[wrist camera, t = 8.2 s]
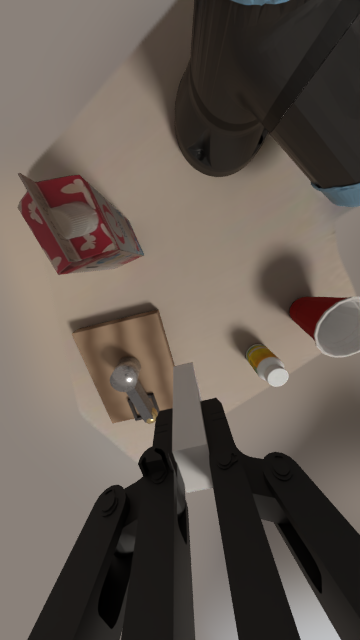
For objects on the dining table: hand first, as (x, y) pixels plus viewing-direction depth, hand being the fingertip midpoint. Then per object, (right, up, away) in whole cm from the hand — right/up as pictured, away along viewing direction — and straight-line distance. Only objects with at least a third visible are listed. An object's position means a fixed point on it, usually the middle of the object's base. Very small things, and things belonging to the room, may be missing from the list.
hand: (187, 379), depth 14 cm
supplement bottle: (+18, -3, +29) cm, 34 cm away
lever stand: (-11, -6, +29) cm, 32 cm away
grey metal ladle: (-9, -10, +27) cm, 30 cm away
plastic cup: (+26, +7, +26) cm, 38 cm away
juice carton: (-12, +19, +21) cm, 31 cm away
